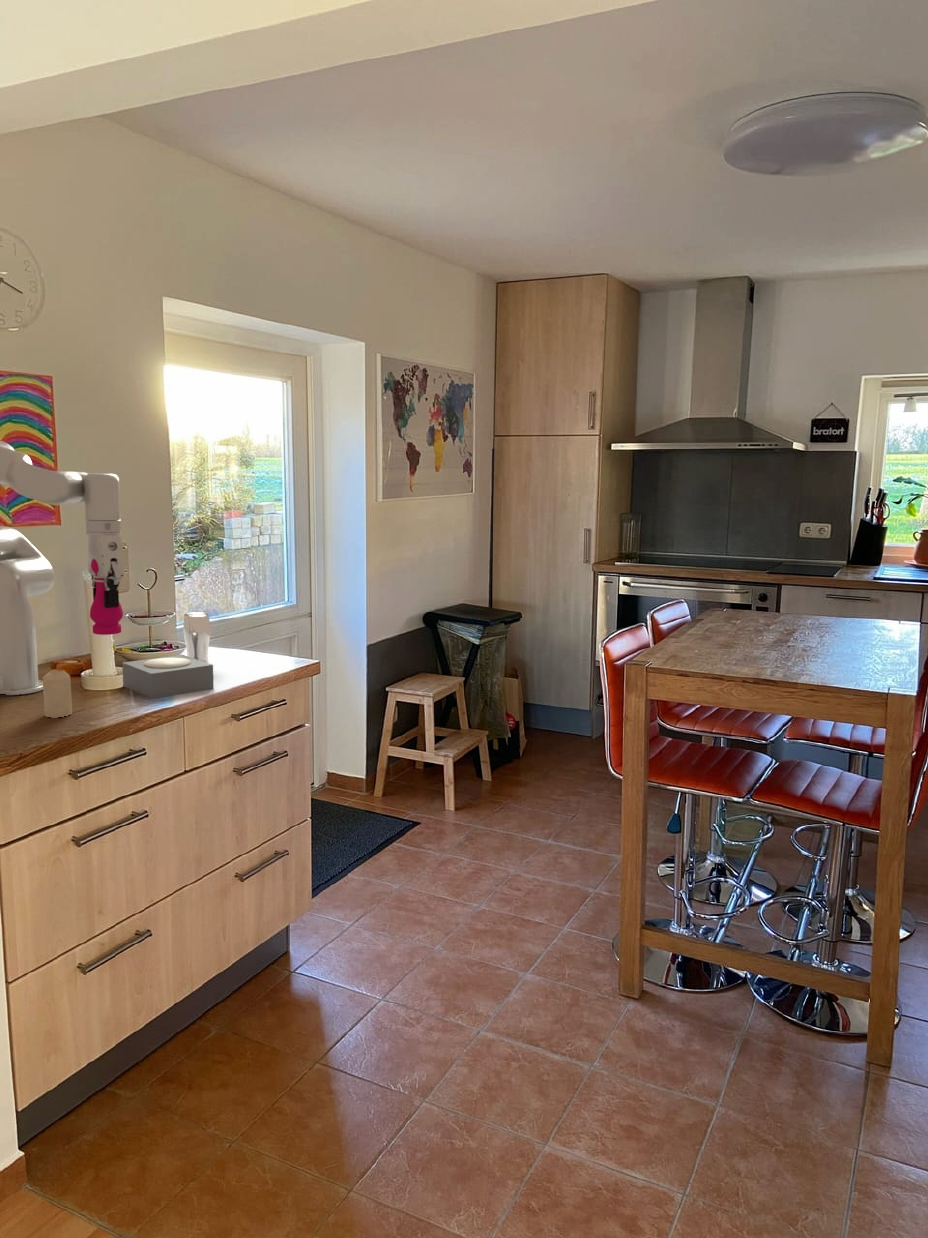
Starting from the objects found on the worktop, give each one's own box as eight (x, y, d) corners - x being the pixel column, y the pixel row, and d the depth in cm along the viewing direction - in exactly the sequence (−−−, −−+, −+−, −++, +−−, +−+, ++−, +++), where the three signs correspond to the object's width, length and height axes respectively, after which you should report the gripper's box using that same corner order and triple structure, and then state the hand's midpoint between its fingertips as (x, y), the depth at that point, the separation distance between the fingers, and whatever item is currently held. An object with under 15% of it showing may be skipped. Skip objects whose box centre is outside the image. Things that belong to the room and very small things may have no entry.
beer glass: (184, 671, 242) (182, 616, 239) (184, 666, 248) (183, 612, 246) (211, 670, 243) (209, 616, 241) (211, 665, 250) (209, 612, 248)
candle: (40, 714, 197) (38, 670, 196) (66, 710, 201) (64, 666, 199) (50, 720, 193) (47, 674, 192) (76, 715, 197) (74, 671, 196)
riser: (152, 698, 213) (151, 672, 212) (123, 686, 224) (122, 661, 223) (213, 688, 224) (213, 663, 223) (182, 677, 235) (182, 653, 234)
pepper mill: (112, 636, 206) (109, 549, 203) (83, 634, 208) (80, 547, 205) (129, 631, 213) (127, 546, 210) (102, 629, 215) (99, 545, 212)
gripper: (135, 529, 203) (137, 609, 206) (104, 525, 215) (106, 600, 218) (102, 530, 198) (105, 611, 201) (72, 525, 210) (75, 602, 213)
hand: (106, 604), depth 210 cm, fingers closed on pepper mill, 5 cm apart
